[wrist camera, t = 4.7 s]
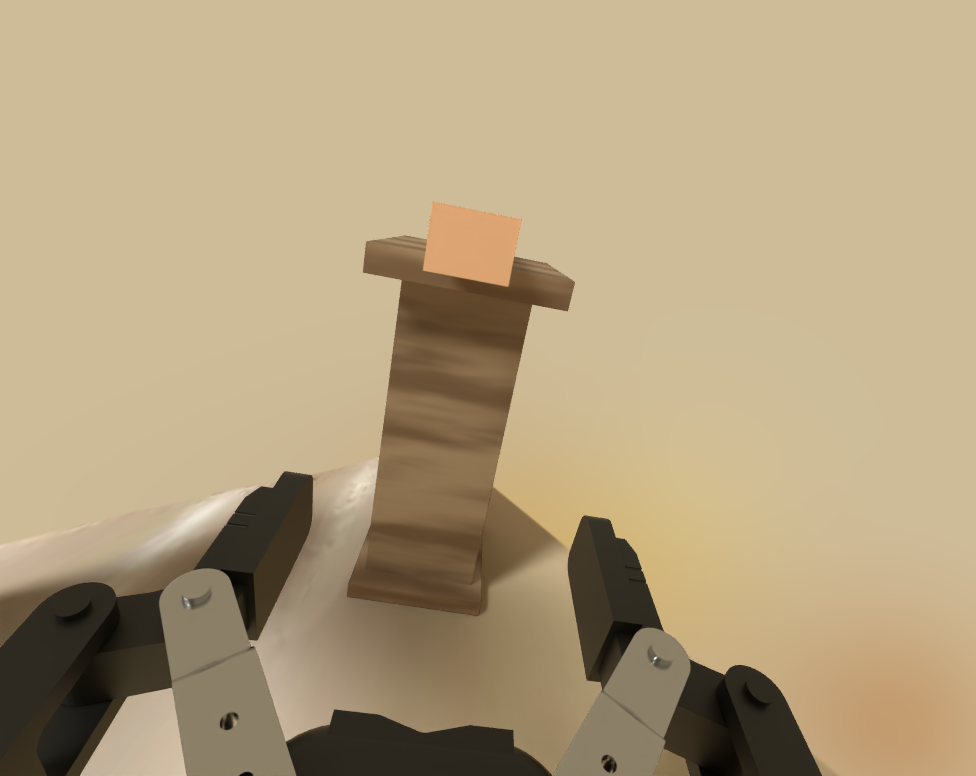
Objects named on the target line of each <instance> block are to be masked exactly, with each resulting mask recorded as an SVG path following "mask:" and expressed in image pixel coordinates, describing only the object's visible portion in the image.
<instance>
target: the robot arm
mask: <svg viewBox="0 0 976 776" xmlns="http://www.w3.org/2000/svg"><path fill="white" fill-rule="evenodd" d="M312 503H313V477H312V475H306V474H300V473H294V472H286V471H285V472H284V473H283V474H282V475H281V477H280V478H279V480H278V481H277V483H276V484H275V486H274V487H273V488H269V487H262V486H261V487H260V488H258V489H257V490H255V491H254V492H252V493H251V494H249V495H248V496H246V497H245V498H244V500H243V501H242V503H241V504H240V505H239V507H238V508H237V510H236V511H235V514H233V515H232V517H231V518H230V519H229V521H228V522H227V525H226V526H224V528H223V529H222V531H221V532H220V533H219V535H218V536H217V538H216V539H215V540H214V542H213V543H212V545H211V546H210V548H209V549H208V550H207V552H206V553H205V555H204V556H203V557H202V559H201V560H200V562H199V563H198V564H197V566H196V567H195V568H194V570H193V571H190V572H187V573H185V574H183V575H181V576H179V577H177V578H176V579H174V580H173V581H172V582H171V583H169V585H168V586H167V587H166V588H165V589H163V590H160V591H156V592H151V593H145V594H137V595H130V596H122V597H116V594H115V592H114V590H113V589H112V588H111V587H109V586H108V585H106V584H103V583H94V582H90V583H82V584H77V585H74V586H71V587H68V588H65V589H63V590H61V591H59V592H57V593H55V594H53V595H52V596H50V597H49V598H47V599H46V600H45V601H43V602H42V603H41V604H40V605H39V606H38V607H37V608H36V609H35V610H34V611H33V612H32V614H31V615H30V616H29V617H28V618H27V619H26V620H25V621H24V622H23V623H22V625H21V626H20V627H19V628H18V629H17V630H16V631H15V632H14V633H13V634H12V636H11V637H10V638H9V639H8V640H7V641H6V642H5V643H4V644H3V645H2V647H1V648H0V776H80V774H81V772H82V771H83V769H84V767H85V766H86V764H87V762H88V761H89V759H90V757H91V756H92V754H93V753H94V751H95V749H96V748H97V746H98V744H99V743H100V741H101V739H102V738H103V736H104V734H105V733H106V731H107V729H108V728H109V726H110V724H111V723H112V721H113V719H114V718H115V716H116V714H117V713H118V711H119V709H120V708H121V706H122V704H123V703H124V701H125V699H126V698H127V697H128V696H133V695H138V694H143V693H148V692H153V691H158V690H163V689H168V688H172V689H173V695H174V701H175V707H176V713H177V719H178V726H179V732H180V738H181V744H182V750H183V756H184V762H185V768H186V774H187V776H552V775H551V774H550V772H549V771H548V770H547V769H546V768H545V767H544V766H543V765H542V764H541V763H540V762H538V761H537V760H536V759H535V758H533V757H532V756H531V755H529V754H528V753H526V752H524V751H523V750H521V749H519V748H517V747H515V746H514V739H513V730H506V729H498V728H489V727H481V726H472V725H469V726H463V727H458V728H452V729H446V730H441V731H435V732H429V733H422V732H419V731H416V730H414V729H412V728H409V727H407V726H404V725H402V724H400V723H397V722H395V721H393V720H390V719H388V718H386V717H383V716H381V715H377V714H369V713H360V712H351V711H343V710H334V712H333V716H332V719H331V723H330V725H326V726H321V727H317V728H314V729H311V730H308V731H306V732H304V733H301V734H299V735H297V736H295V737H294V738H292V739H290V740H288V741H287V742H286V741H285V738H284V735H283V732H282V729H281V726H280V723H279V719H278V716H277V713H276V710H275V707H274V704H273V700H272V697H271V694H270V691H269V688H268V685H267V682H266V678H265V675H264V672H263V669H262V666H261V663H260V659H259V656H258V654H257V651H256V649H255V647H254V646H253V647H251V645H250V642H249V640H256V641H257V640H258V638H259V636H260V634H261V632H262V630H263V628H264V626H265V624H266V622H267V619H268V617H269V615H270V613H271V611H272V609H273V607H274V605H275V603H276V601H277V599H278V597H279V594H280V592H281V590H282V588H283V586H284V584H285V582H286V580H287V578H288V576H289V574H290V572H291V569H292V567H293V565H294V563H295V561H296V559H297V557H298V555H299V553H300V551H301V549H302V547H303V544H304V542H305V540H306V538H307V536H308V533H309V530H310V526H311V521H312ZM641 569H642V568H641V566H640V563H639V560H638V557H637V554H636V553H635V551H634V550H633V549H632V547H631V546H630V545H629V544H628V543H627V541H626V540H625V539H620V538H616V537H615V534H614V530H613V527H612V524H611V521H610V520H609V519H604V518H598V517H591V516H583V517H582V519H581V522H580V524H579V527H578V530H577V533H576V536H575V538H574V541H573V544H572V547H571V550H570V553H569V558H568V576H569V581H570V587H571V593H572V599H573V604H574V610H575V616H576V622H577V627H578V633H579V639H580V644H581V650H582V656H583V662H584V667H585V673H586V679H587V680H588V681H596V682H601V686H602V691H601V692H600V694H599V696H598V697H597V699H596V701H595V703H594V704H593V706H592V708H591V710H590V711H589V713H588V715H587V717H586V718H585V720H584V722H583V723H582V725H581V727H580V729H579V730H578V732H577V734H576V736H575V737H574V739H573V741H572V743H571V744H570V746H569V748H568V750H567V751H566V753H565V755H564V757H563V758H562V760H561V762H560V763H559V765H558V767H557V769H556V770H555V772H554V774H553V776H653V773H654V771H655V768H656V766H657V763H658V760H659V758H660V755H661V753H662V750H663V748H664V749H666V750H668V751H671V752H673V753H675V754H677V755H679V756H681V757H683V758H685V759H686V763H687V767H688V770H689V774H690V776H822V775H821V773H820V770H819V768H818V766H817V764H816V762H815V760H814V758H813V756H812V754H811V752H810V750H809V748H808V745H807V743H806V741H805V739H804V737H803V735H802V733H801V731H800V729H799V726H798V724H797V722H796V720H795V718H794V716H793V714H792V712H791V710H790V708H789V706H788V703H787V702H786V699H785V698H784V696H783V694H782V693H781V691H780V690H779V689H778V687H777V686H776V685H775V684H774V683H773V682H772V681H771V680H770V679H769V678H768V677H766V676H765V675H764V674H762V673H761V672H759V671H757V670H755V669H753V668H751V667H748V666H744V665H735V666H733V667H731V668H730V669H729V670H728V671H727V672H726V674H725V675H723V674H721V673H719V672H716V671H714V670H712V669H710V668H707V667H705V666H703V665H700V664H698V663H696V662H694V661H692V660H690V659H689V657H688V655H687V653H686V651H685V650H684V648H683V647H682V646H681V644H680V643H679V642H678V641H677V640H676V639H675V638H673V637H672V636H671V635H669V634H667V633H666V632H664V630H663V628H662V625H661V623H660V619H659V617H658V614H657V611H656V608H655V605H654V603H653V599H652V597H651V594H650V591H649V588H648V585H647V584H646V580H645V577H644V574H643V572H642V571H641Z"/></svg>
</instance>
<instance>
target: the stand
mask: <svg viewBox="0 0 976 776" xmlns="http://www.w3.org/2000/svg"><path fill="white" fill-rule="evenodd" d="M426 245H427V240H426V239H420V238H415V237H410V236H399V237H393V238H386V239H380V240H374V241H367V242H366V248H365V258H364V268H363V272H364V273H368V274H374V275H380V276H384V277H390V278H395V279H400V280H402V283H401V292H400V299H399V308H398V315H397V322H396V331H395V338H394V346H393V354H392V362H391V370H390V378H389V387H388V393H387V401H386V409H385V417H384V425H383V434H382V441H381V448H380V456H379V464H378V472H377V480H376V488H375V496H374V503H373V511H372V519H371V526H370V528H369V531H368V534H367V536H366V539H365V541H364V544H363V547H362V549H361V552H360V554H359V557H358V560H357V562H356V565H355V568H354V570H353V573H352V575H351V578H350V581H349V583H348V592H347V597H354V598H360V599H367V600H374V601H381V602H388V603H395V604H402V605H409V606H415V607H422V608H429V609H436V610H443V611H450V612H457V613H464V614H470V615H477V616H478V614H479V609H480V605H481V566H482V532H483V527H484V523H485V518H486V513H487V509H488V504H489V500H490V495H491V491H492V486H493V481H494V477H495V472H496V468H497V463H498V458H499V454H500V449H501V444H502V440H503V436H504V431H505V426H506V422H507V417H508V413H509V408H510V403H511V399H512V394H513V389H514V385H515V381H516V375H517V371H518V367H519V362H520V358H521V353H522V348H523V344H524V339H525V335H526V330H527V326H528V321H529V316H530V312H531V307H532V305H538V306H543V307H548V308H553V309H558V310H564V311H568V308H569V304H570V300H571V296H572V292H573V288H574V284H575V282H574V281H573V280H571V279H569V278H568V277H567V276H565V275H564V274H562V273H561V272H559V271H558V270H556V269H554V268H553V267H551V266H550V265H548V264H547V263H543V262H537V261H532V260H528V259H523V258H517V257H514V260H513V265H512V270H511V275H510V280H509V286H508V287H507V286H502V285H496V284H491V283H486V282H481V281H475V280H470V279H465V278H460V277H455V276H449V275H444V274H439V273H434V272H428V271H423V266H424V259H425V252H426Z"/></svg>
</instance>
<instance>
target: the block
mask: <svg viewBox="0 0 976 776" xmlns="http://www.w3.org/2000/svg"><path fill="white" fill-rule="evenodd" d="M520 225H521V219H516V218H512V217H507V216H502V215H497V214H492V213H487V212H482V211H476V210H472V209H467V208H462V207H457V206H452V205H447V204H442V203H437V202H433V203H432V209H431V216H430V223H429V230H428V238H427V245H426V252H425V259H424V266H423V271H428V272H434V273H439V274H444V275H449V276H455V277H460V278H465V279H470V280H475V281H481V282H486V283H491V284H496V285H502V286H507V287H508V286H509V280H510V275H511V270H512V265H513V260H514V255H515V250H516V245H517V240H518V235H519V230H520Z"/></svg>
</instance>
